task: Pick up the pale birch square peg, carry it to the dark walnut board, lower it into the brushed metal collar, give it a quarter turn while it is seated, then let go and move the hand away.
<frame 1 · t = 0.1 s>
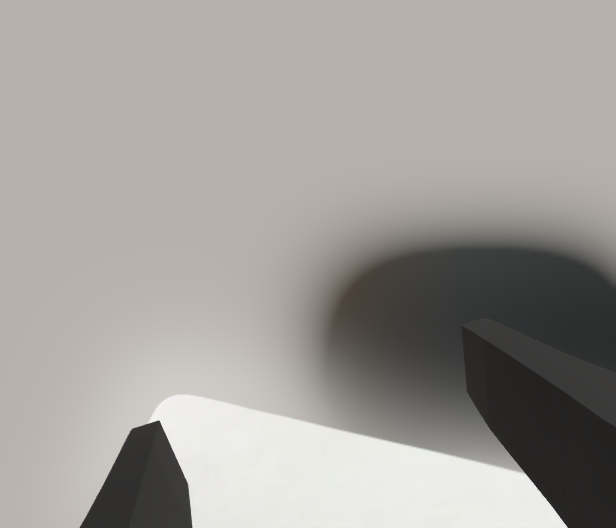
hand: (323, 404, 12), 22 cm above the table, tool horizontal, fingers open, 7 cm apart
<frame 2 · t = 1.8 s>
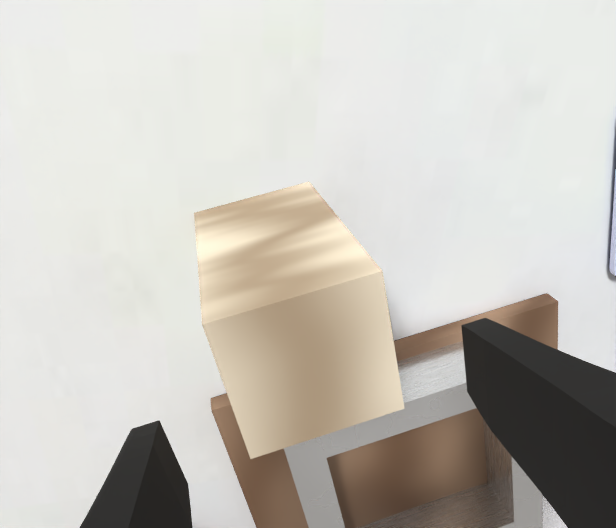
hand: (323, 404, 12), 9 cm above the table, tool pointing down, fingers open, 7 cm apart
collar board: (401, 440, 26), on the table
peg: (266, 249, 20), on the table
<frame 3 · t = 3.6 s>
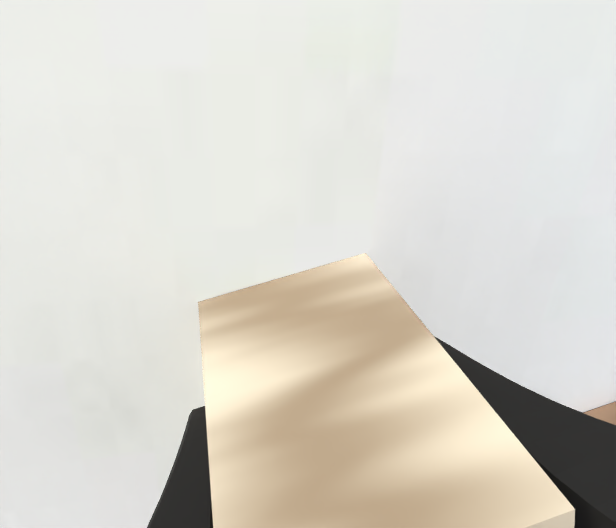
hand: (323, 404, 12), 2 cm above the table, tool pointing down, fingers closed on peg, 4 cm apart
peg: (301, 346, 14), on the table, touching gripper
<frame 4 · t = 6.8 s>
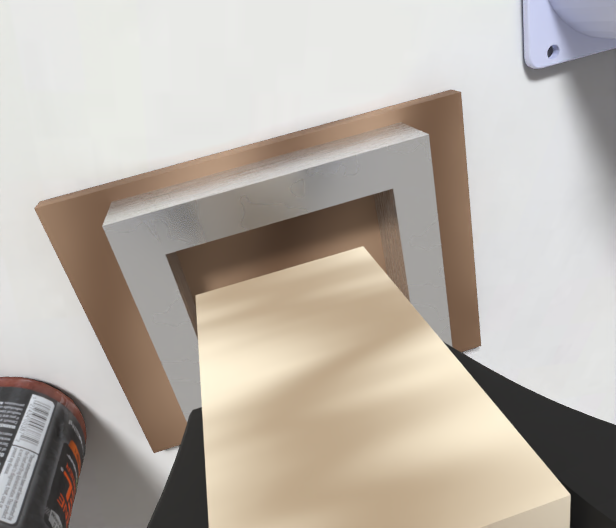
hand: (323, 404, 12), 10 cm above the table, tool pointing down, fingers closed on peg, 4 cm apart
collar board: (290, 279, 22), on the table
supplement bottle: (16, 424, 22), on the table
peg: (299, 340, 14), point 8 cm above the table, touching gripper
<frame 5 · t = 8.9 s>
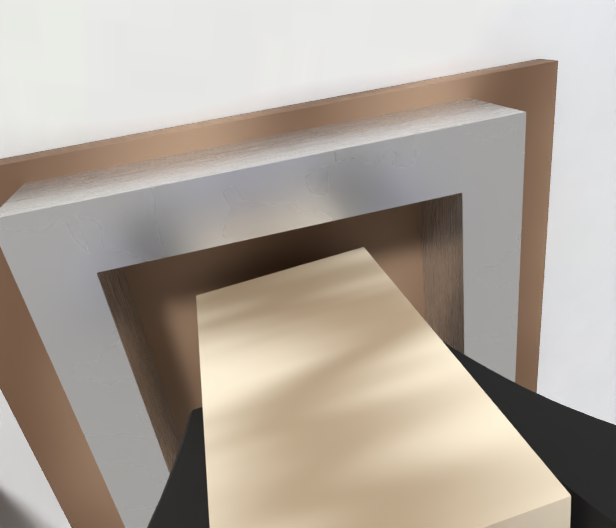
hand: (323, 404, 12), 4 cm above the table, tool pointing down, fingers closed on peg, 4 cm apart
collar board: (289, 313, 16), on the table
peg: (299, 341, 14), point 2 cm above the table, touching gripper
when the fingers open (4 cm above the table, at t = 10.5 s): peg stays where it is, resting on collar board.
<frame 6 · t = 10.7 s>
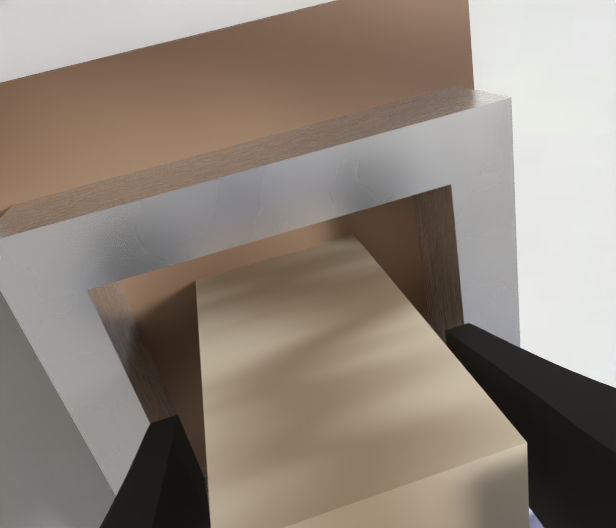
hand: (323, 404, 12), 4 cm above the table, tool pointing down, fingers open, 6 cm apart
collar board: (289, 314, 16), on the table
peg: (293, 323, 15), point 1 cm above the table, touching collar board
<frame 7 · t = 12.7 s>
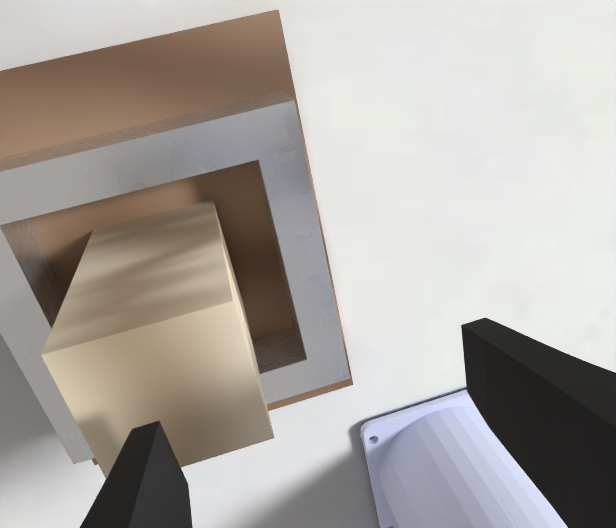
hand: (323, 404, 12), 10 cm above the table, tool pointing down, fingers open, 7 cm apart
collar board: (173, 262, 21), on the table
peg: (172, 266, 20), point 1 cm above the table, touching collar board
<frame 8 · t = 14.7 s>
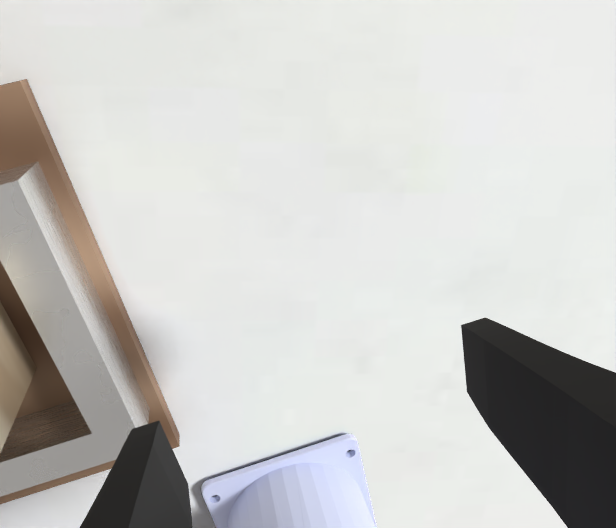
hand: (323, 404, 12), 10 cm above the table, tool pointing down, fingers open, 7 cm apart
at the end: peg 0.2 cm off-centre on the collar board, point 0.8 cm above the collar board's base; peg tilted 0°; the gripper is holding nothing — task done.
